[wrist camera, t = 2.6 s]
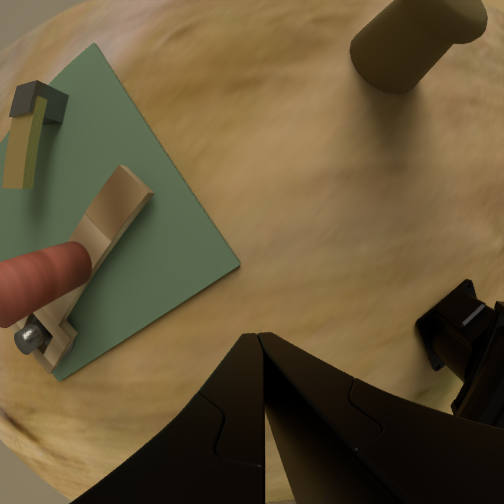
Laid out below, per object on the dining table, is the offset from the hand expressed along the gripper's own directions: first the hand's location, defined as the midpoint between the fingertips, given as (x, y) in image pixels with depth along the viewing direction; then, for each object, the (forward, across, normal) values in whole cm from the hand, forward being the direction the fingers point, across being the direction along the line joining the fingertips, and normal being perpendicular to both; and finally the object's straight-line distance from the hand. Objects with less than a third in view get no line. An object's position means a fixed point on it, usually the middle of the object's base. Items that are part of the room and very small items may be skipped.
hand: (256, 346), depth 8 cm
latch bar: (+12, -13, -3) cm, 18 cm away
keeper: (+15, -15, +7) cm, 23 cm away
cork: (+14, +12, +13) cm, 22 cm away
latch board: (+14, -15, 0) cm, 21 cm away
